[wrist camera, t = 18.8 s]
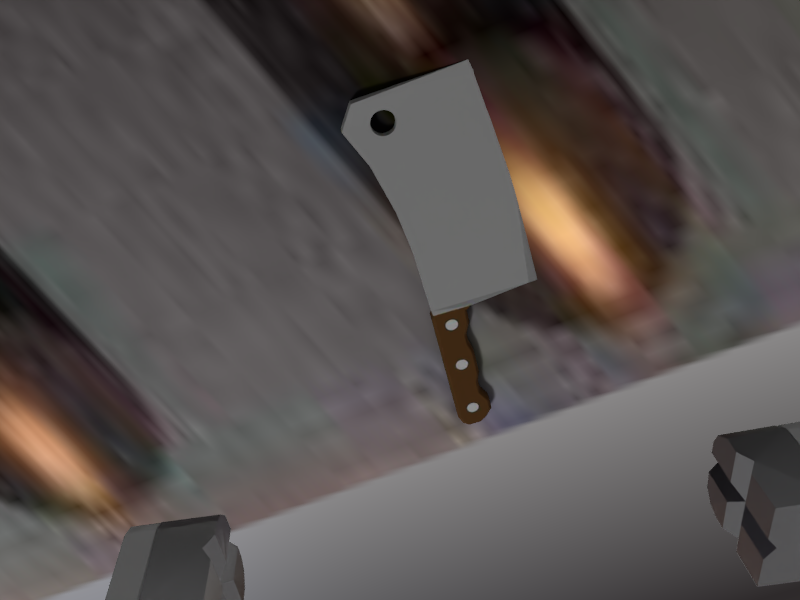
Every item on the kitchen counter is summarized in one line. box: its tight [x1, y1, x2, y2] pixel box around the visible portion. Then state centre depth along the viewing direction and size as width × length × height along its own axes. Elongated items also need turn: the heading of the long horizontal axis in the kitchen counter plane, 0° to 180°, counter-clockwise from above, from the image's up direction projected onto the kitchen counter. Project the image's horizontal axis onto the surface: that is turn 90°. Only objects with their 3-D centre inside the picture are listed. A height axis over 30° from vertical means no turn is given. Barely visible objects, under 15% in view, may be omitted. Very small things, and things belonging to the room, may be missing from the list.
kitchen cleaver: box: [341, 60, 537, 424], centre depth 43 cm, size 24×1×10 cm
